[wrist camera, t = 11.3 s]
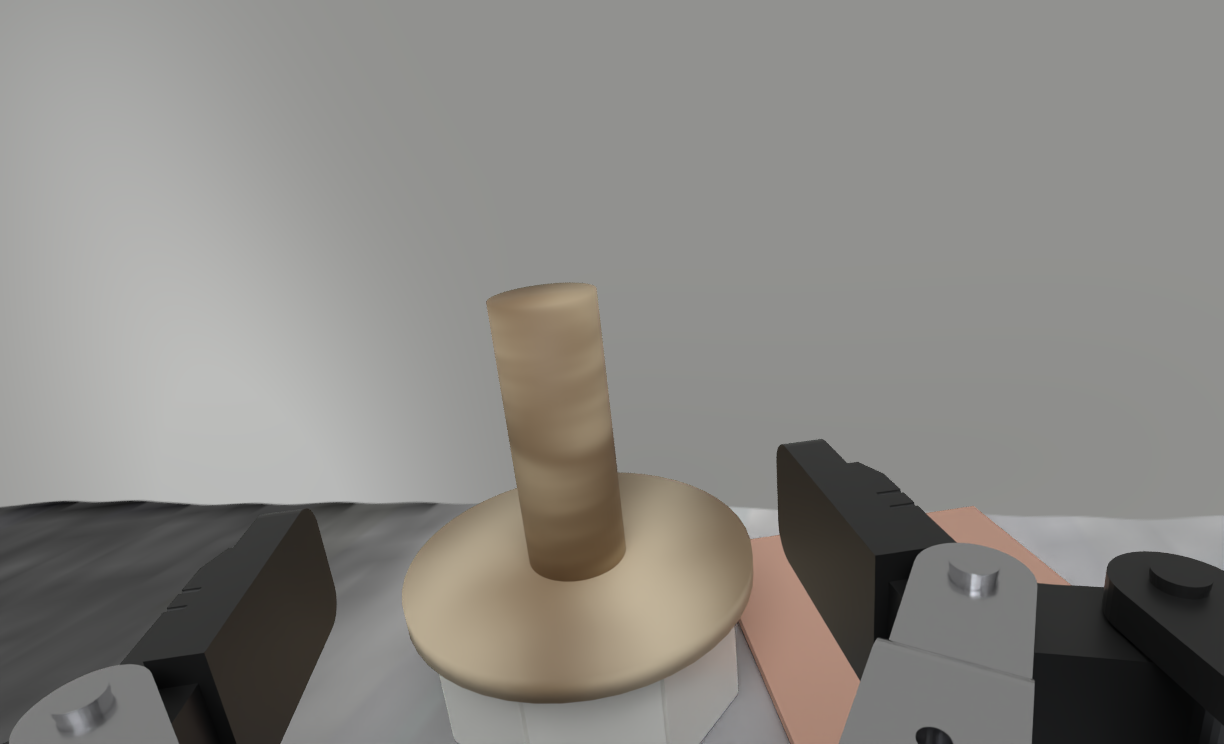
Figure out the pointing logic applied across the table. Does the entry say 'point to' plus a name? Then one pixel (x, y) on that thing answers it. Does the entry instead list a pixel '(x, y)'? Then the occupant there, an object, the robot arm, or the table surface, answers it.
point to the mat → (804, 646)
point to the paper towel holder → (572, 537)
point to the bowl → (606, 710)
